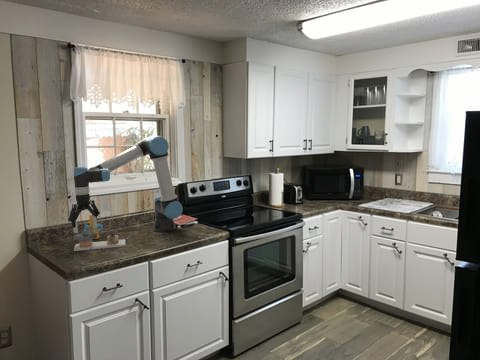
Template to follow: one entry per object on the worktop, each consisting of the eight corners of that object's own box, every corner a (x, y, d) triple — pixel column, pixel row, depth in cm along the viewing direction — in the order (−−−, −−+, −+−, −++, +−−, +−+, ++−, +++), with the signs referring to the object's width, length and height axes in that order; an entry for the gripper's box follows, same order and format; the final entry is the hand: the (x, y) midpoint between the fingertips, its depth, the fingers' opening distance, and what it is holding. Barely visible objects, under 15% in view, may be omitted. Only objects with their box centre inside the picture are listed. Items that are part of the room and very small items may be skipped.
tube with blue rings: (96, 235, 250) (95, 212, 248) (107, 236, 245) (105, 214, 243) (80, 239, 239) (78, 216, 238) (91, 241, 234) (89, 217, 232)
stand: (118, 240, 230) (118, 228, 229) (118, 243, 224) (117, 231, 223) (107, 241, 228) (106, 229, 228) (107, 244, 222) (106, 232, 221)
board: (125, 241, 234) (125, 239, 234) (125, 246, 223) (125, 244, 223) (76, 245, 226) (75, 243, 225) (73, 251, 215) (73, 249, 215)
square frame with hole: (97, 237, 223) (96, 233, 223) (84, 241, 216) (84, 237, 215) (86, 236, 228) (86, 231, 227) (73, 239, 220) (73, 235, 219)
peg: (92, 243, 226) (91, 228, 225) (91, 246, 220) (90, 231, 219) (80, 244, 224) (79, 229, 223) (78, 247, 218) (77, 232, 217)
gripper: (95, 190, 231) (98, 224, 234) (59, 197, 209) (62, 234, 212) (104, 190, 228) (107, 225, 230) (68, 197, 206) (71, 236, 208)
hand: (85, 229), depth 221 cm, fingers open, 13 cm apart
